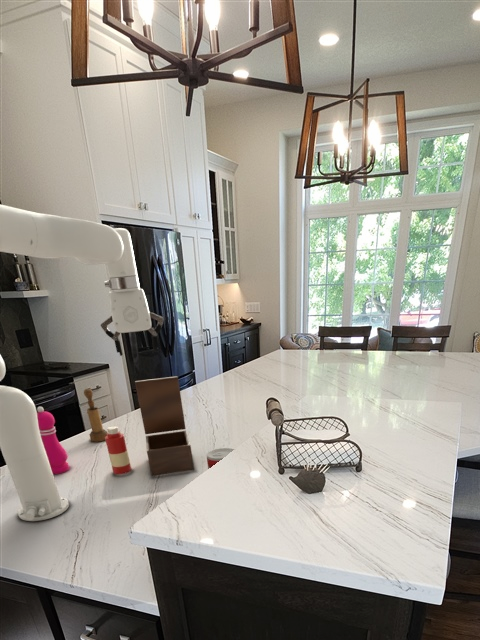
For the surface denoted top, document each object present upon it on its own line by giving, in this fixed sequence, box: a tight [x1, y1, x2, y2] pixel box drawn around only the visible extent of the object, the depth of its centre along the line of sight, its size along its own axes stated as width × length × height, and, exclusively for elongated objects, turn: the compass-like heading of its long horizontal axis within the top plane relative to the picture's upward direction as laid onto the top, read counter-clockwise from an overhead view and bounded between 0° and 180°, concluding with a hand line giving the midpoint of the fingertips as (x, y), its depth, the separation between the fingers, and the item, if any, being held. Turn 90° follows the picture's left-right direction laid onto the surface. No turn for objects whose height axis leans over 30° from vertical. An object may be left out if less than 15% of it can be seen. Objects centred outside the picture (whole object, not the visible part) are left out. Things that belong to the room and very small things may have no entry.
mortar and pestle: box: [83, 388, 108, 443], centre depth 170 cm, size 7×6×18 cm
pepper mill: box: [36, 406, 70, 475], centre depth 145 cm, size 7×7×20 cm
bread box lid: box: [134, 376, 186, 435], centre depth 146 cm, size 16×13×5 cm
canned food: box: [206, 447, 235, 470], centre depth 125 cm, size 8×8×11 cm
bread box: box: [145, 429, 195, 477], centre depth 145 cm, size 15×13×8 cm
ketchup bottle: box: [104, 425, 132, 475], centre depth 141 cm, size 6×6×14 cm
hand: (138, 352), depth 136 cm, fingers open, 9 cm apart
